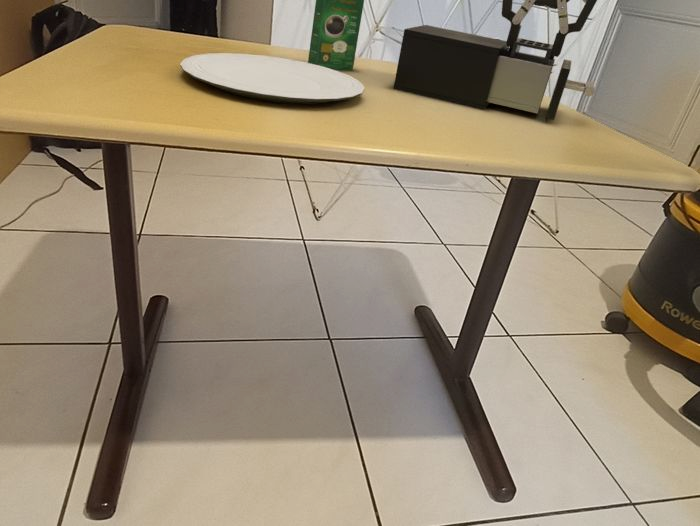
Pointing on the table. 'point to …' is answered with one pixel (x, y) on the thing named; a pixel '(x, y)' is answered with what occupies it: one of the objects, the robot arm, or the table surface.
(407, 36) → the black drawer box
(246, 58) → the plate
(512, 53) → the box
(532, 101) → the grey box with handle
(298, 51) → the table surface
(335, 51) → the coffee box
